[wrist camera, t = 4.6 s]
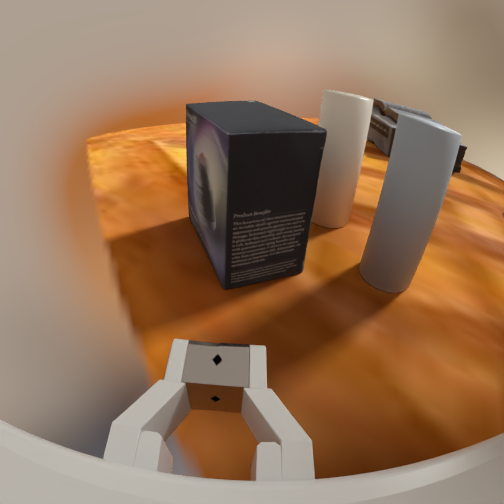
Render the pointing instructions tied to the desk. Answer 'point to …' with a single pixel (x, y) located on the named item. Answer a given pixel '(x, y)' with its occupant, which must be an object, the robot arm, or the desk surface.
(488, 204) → the desk surface
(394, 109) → the bible
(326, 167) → the cream post
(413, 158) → the slate post
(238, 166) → the small box
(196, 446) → the desk surface
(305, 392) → the desk surface
